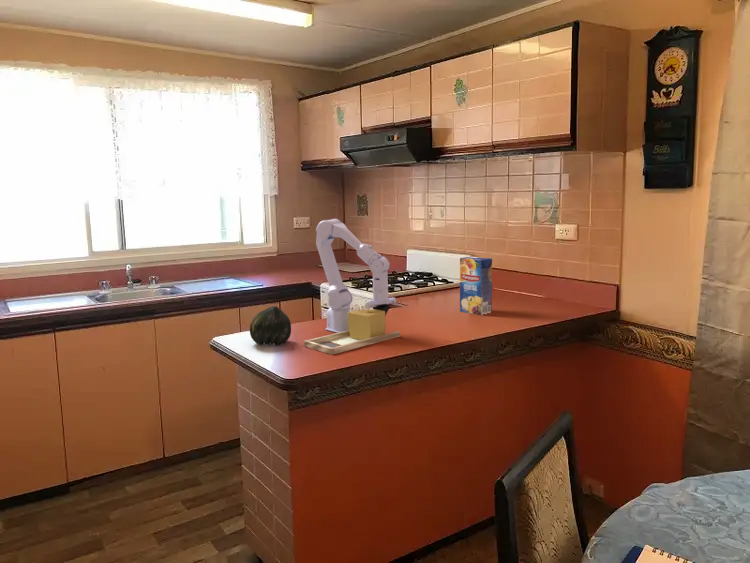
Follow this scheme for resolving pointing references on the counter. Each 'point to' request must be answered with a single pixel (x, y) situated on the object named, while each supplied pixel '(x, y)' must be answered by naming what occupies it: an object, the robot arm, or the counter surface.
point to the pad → (344, 340)
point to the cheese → (366, 323)
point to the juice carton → (476, 285)
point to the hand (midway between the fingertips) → (381, 323)
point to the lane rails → (315, 344)
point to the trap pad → (329, 344)
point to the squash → (270, 327)
